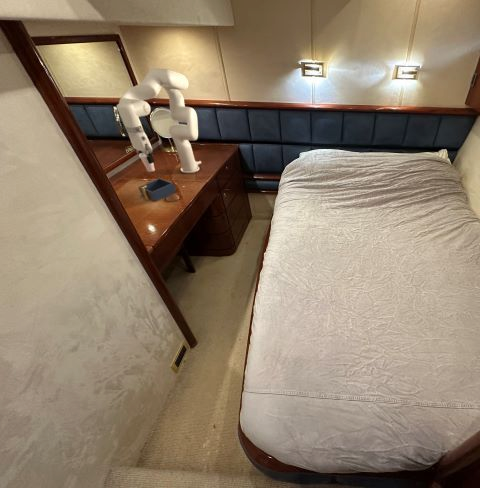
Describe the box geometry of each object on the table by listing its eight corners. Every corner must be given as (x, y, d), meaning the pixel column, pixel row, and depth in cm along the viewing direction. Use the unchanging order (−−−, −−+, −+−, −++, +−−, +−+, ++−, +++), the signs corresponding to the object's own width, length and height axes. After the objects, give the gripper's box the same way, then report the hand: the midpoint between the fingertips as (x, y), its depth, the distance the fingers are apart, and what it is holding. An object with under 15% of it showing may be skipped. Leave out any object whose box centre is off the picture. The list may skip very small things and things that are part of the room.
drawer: (162, 186, 172) (158, 174, 166) (176, 191, 168) (172, 179, 162) (139, 197, 160) (134, 184, 155) (153, 202, 156) (148, 190, 151)
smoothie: (159, 168, 157) (150, 144, 148) (154, 172, 153) (144, 149, 143) (148, 167, 157) (138, 144, 148) (143, 172, 152) (132, 148, 143)
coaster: (173, 194, 165) (173, 193, 165) (182, 197, 163) (182, 196, 162) (163, 199, 160) (162, 198, 159) (171, 202, 157) (171, 202, 157)
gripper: (152, 130, 139) (163, 162, 151) (130, 124, 145) (143, 155, 157) (138, 134, 134) (151, 167, 146) (117, 127, 140) (131, 160, 151)
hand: (147, 161), depth 151 cm, fingers closed on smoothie, 6 cm apart
